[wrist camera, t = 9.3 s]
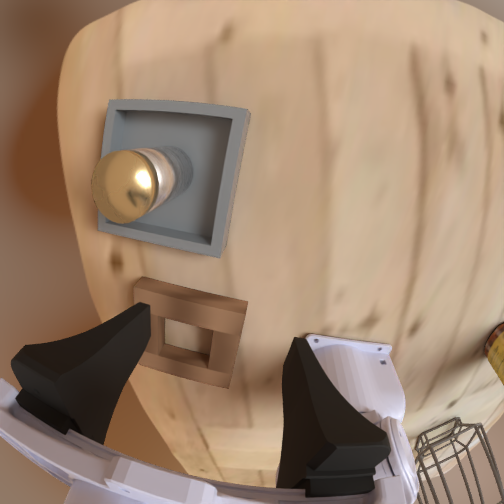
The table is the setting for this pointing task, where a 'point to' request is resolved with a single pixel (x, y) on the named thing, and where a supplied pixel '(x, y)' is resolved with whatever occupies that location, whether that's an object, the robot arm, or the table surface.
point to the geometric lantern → (491, 459)
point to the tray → (203, 160)
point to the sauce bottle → (496, 351)
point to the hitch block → (198, 314)
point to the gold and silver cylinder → (139, 181)
